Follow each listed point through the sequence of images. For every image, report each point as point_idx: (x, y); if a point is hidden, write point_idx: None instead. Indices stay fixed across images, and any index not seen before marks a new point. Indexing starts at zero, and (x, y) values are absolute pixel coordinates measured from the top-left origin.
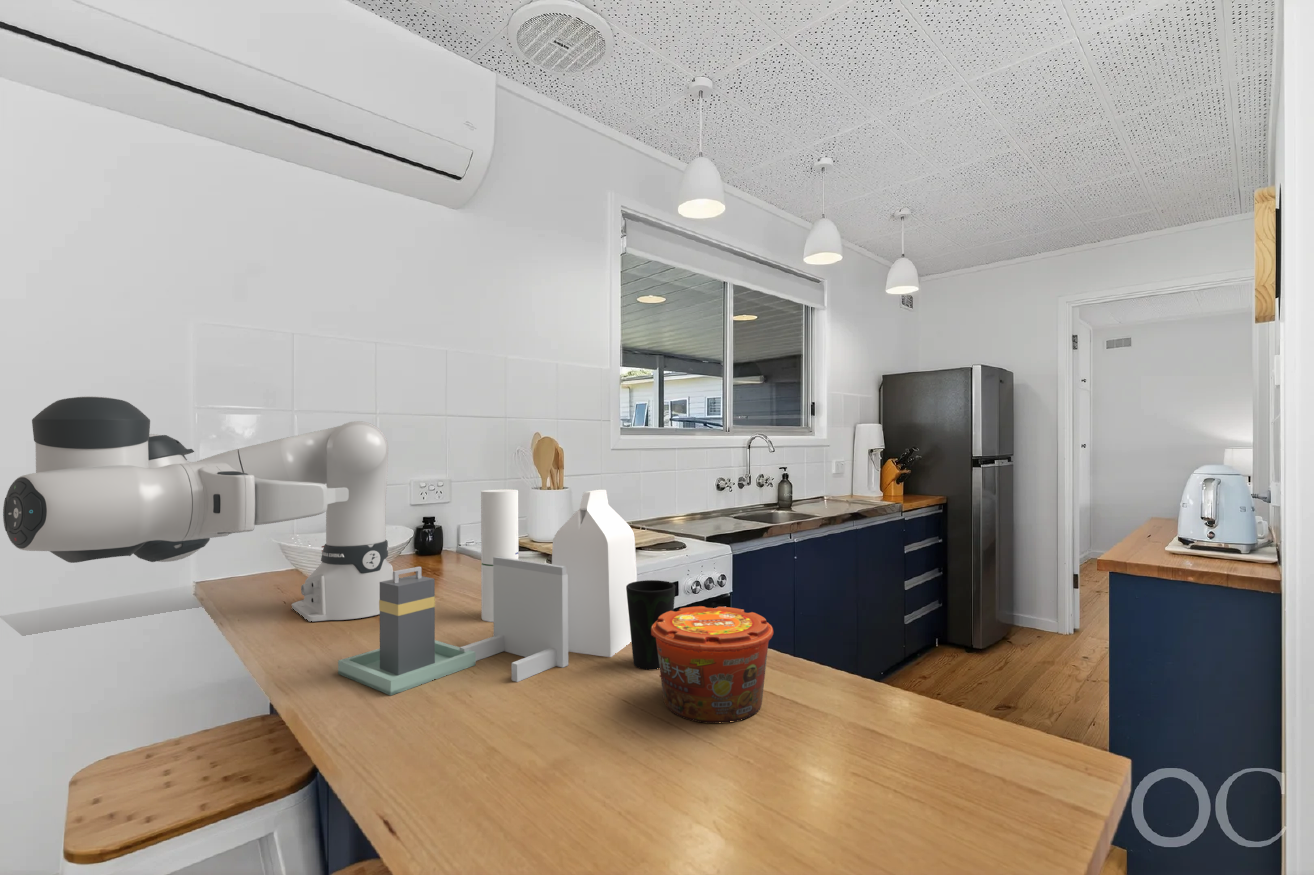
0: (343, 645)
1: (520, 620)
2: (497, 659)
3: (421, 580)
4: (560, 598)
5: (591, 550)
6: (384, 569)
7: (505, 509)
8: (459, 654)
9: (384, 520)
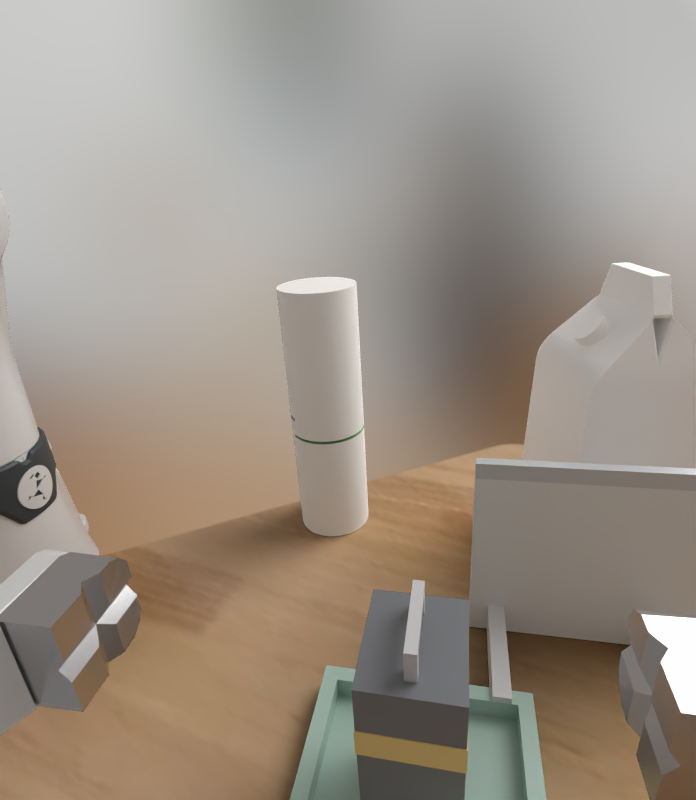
0: (121, 748)
1: (563, 580)
2: (535, 668)
3: (456, 626)
4: None
5: (685, 405)
6: (59, 489)
7: (351, 326)
8: (492, 707)
9: (24, 388)
